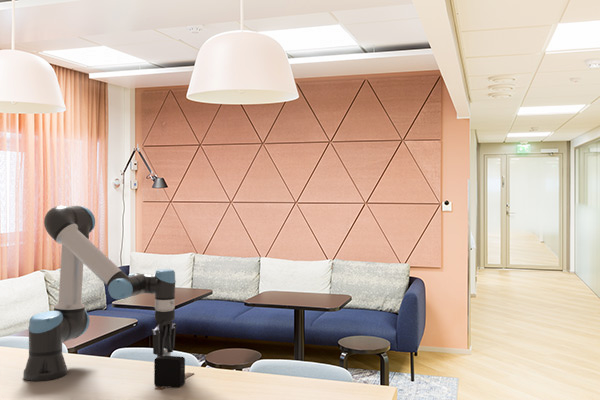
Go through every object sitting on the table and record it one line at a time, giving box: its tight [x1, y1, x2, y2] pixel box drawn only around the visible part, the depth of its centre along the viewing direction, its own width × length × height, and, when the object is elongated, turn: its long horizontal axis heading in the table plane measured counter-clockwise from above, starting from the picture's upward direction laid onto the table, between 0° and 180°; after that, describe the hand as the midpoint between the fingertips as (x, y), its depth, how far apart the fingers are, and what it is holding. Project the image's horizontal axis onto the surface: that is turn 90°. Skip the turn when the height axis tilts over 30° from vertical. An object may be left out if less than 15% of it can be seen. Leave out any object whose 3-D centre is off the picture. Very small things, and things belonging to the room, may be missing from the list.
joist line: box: [154, 372, 195, 391], centre depth 205 cm, size 3×20×1 cm, turn 158°
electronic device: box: [153, 355, 186, 389], centre depth 200 cm, size 4×10×10 cm, turn 77°
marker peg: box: [163, 347, 169, 356], centre depth 216 cm, size 4×4×9 cm
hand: (163, 370), depth 216 cm, fingers closed on marker peg, 3 cm apart
